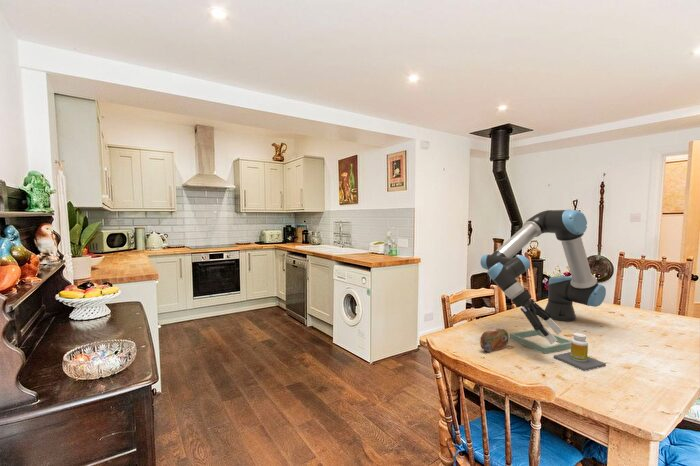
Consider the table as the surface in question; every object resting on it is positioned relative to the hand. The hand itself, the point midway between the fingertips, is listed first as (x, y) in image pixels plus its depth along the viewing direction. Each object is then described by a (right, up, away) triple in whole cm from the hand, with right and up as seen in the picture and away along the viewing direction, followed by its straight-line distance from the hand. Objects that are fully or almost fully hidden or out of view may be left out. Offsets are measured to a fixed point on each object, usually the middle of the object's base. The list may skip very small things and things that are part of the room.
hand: (557, 337), depth 133 cm
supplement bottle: (+6, -7, -4) cm, 10 cm away
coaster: (+6, -8, -4) cm, 11 cm away
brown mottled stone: (-22, -8, +7) cm, 25 cm away
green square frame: (+2, -7, +14) cm, 16 cm away
